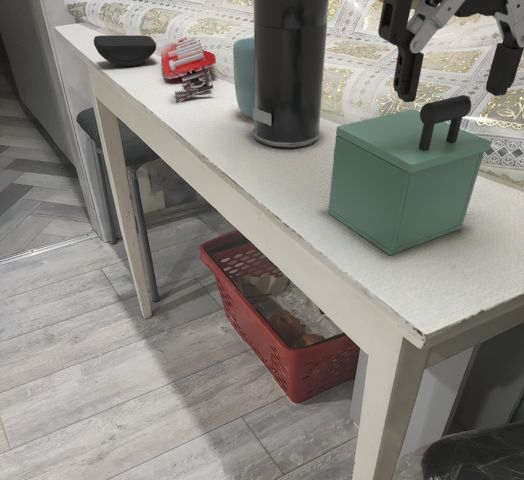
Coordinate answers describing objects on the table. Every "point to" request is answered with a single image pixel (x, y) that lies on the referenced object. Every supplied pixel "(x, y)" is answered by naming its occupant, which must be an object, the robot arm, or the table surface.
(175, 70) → the logo
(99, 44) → the computer mouse
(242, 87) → the cup
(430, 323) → the table surface
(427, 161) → the green square slab
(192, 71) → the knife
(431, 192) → the green storage box
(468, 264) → the table surface
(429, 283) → the table surface
